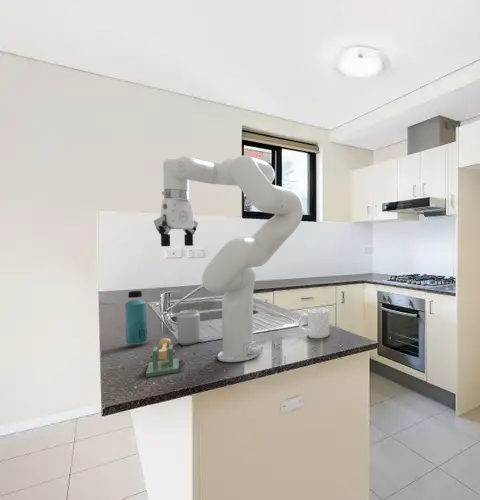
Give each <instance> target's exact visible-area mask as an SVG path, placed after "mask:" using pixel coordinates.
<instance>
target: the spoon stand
mask: <svg viewBox="0 0 480 500" xmlns="http://www.w3.org/2000/svg"><path fill="white" fill-rule="evenodd" d="M158 347H159V346H154V347H153V348H152V352H150V358H151V359H152V361H149V362H148V365H147V368H146V372H145V378H150V377H158V376H162V375H163V376H164V375H169V374H175V373H180V372H179V371H180V358H178V357H177V358H174V356H175V355H176V351H175V350H176V349H174V345H173V344H171V345H169V348H168V359H162V360H159V356H158V352H159V348H158Z"/></svg>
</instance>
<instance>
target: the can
mask: <svg viewBox="0 0 480 500" xmlns="http://www.w3.org/2000/svg"><path fill="white" fill-rule="evenodd" d="M178 312H179V314H178V315H177V316H176V320H177V321H176V322H177V323H176V324H177V343H179V344H180V345H181V346H190V345H191V346H192V345H194V344H198V343H199V341H200V340H201V314H200V313H199V310H198V309H185V310H180V311H178Z"/></svg>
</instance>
